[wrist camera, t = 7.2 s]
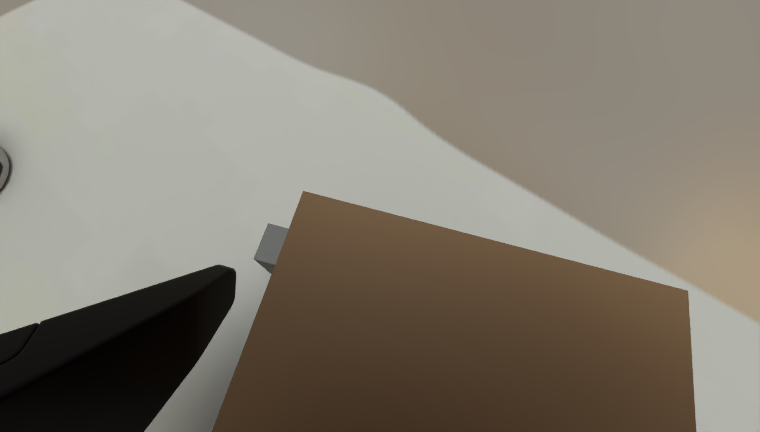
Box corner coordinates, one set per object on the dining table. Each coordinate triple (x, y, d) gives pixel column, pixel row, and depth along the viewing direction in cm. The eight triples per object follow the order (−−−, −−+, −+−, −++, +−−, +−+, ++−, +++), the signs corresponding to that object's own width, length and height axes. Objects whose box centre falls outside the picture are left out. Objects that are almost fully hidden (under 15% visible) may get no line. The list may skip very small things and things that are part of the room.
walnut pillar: (425, 454, 14) (727, 952, 2) (315, 422, 14) (99, 729, 3) (446, 337, 16) (688, 291, 4) (347, 310, 16) (303, 190, 4)
